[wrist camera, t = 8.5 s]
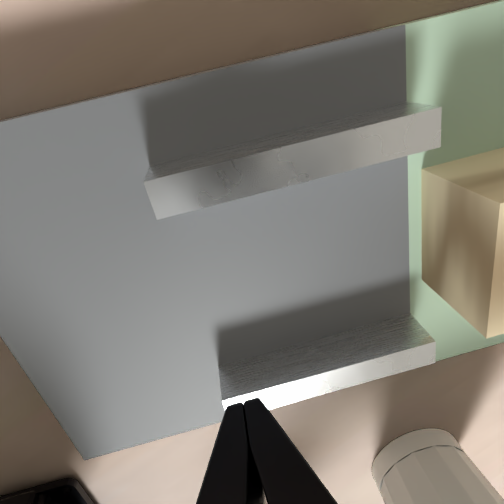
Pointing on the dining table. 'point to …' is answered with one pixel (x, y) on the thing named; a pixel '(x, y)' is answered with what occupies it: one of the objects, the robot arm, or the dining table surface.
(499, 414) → the dining table surface
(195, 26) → the dining table surface
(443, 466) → the cup
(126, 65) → the dining table surface
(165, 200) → the channel rails
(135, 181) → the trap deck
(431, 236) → the beech block
